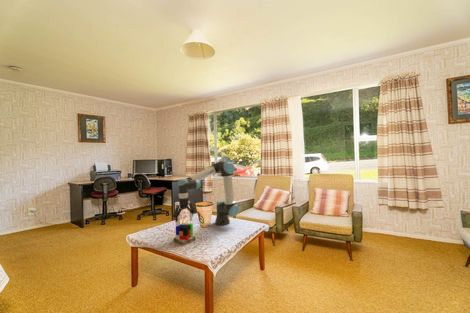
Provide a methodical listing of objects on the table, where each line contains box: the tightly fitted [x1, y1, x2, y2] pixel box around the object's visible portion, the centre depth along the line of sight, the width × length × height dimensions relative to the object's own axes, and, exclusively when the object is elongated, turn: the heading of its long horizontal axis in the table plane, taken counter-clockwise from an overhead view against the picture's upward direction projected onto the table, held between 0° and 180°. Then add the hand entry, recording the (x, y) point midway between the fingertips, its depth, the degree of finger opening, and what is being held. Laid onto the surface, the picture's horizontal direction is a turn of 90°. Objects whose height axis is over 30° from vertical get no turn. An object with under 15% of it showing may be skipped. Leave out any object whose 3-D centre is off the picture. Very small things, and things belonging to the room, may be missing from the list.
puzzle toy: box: [175, 222, 194, 240], centre depth 180 cm, size 10×10×10 cm
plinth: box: [172, 235, 196, 246], centre depth 180 cm, size 13×13×3 cm
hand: (184, 223), depth 180 cm, fingers open, 13 cm apart
